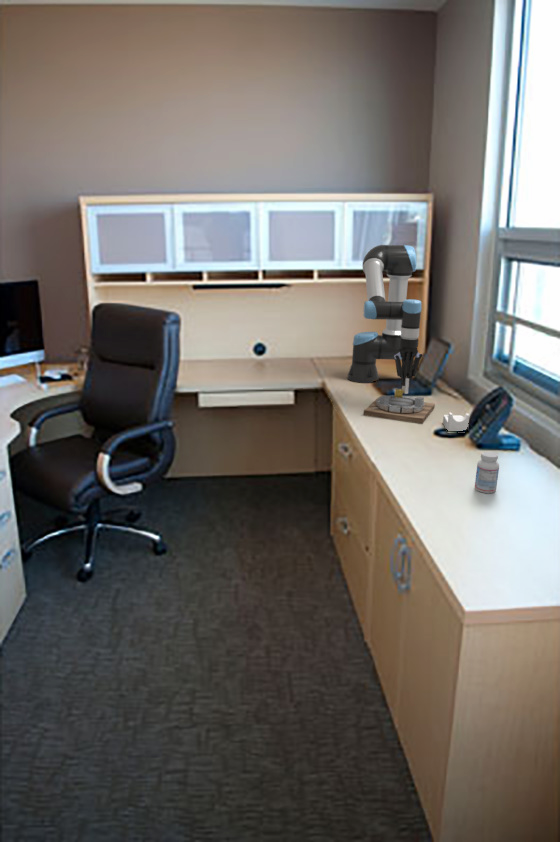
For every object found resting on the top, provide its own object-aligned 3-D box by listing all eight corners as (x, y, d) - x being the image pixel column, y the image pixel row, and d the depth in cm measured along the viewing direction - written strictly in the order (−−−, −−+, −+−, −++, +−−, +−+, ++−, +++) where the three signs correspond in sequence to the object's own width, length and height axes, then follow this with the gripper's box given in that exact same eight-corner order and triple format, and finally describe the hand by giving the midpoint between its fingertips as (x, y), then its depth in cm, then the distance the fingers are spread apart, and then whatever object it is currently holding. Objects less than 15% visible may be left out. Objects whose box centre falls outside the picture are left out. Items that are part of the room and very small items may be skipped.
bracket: (467, 434, 235) (469, 415, 233) (447, 433, 236) (449, 414, 234) (461, 424, 248) (463, 405, 246) (442, 423, 248) (444, 404, 246)
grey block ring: (383, 397, 273) (384, 386, 271) (427, 403, 266) (428, 392, 264) (371, 409, 256) (372, 397, 255) (418, 415, 249) (419, 403, 247)
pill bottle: (479, 484, 190) (483, 448, 187) (499, 489, 187) (503, 453, 183) (470, 490, 186) (475, 454, 182) (491, 495, 182) (495, 459, 179)
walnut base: (379, 400, 277) (380, 391, 275) (434, 408, 268) (435, 397, 266) (363, 415, 256) (364, 404, 254) (422, 423, 247) (423, 412, 245)
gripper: (418, 335, 267) (413, 389, 274) (391, 336, 262) (386, 391, 269) (428, 338, 260) (422, 394, 267) (400, 340, 256) (395, 396, 263)
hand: (404, 392), depth 268 cm, fingers closed
